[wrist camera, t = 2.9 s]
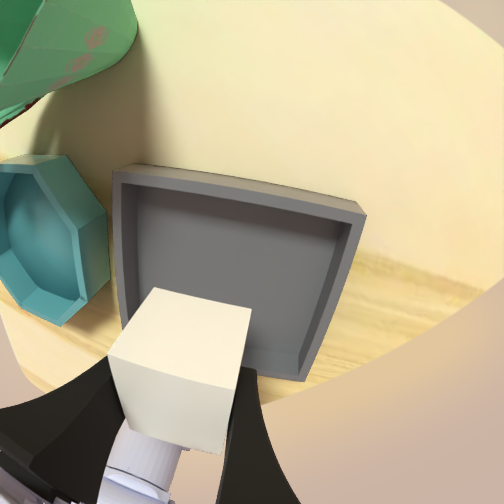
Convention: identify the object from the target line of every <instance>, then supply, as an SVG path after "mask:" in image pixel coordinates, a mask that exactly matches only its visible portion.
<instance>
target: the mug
mask: <svg viewBox="0 0 504 504" xmlns="http://www.w3.org/2000/svg"><path fill="white" fill-rule="evenodd" d="M137 23H138V22H137V19H136V15H135V12H134V9H133V6H132V3H131V0H0V129H1V128H2V127H3V126H5V125H6V124H8V123H9V122H11V121H12V120H13V119H15V118H17V117H18V116H20V115H21V114H23V113H24V112H26V111H27V110H29V109H30V108H31V107H32V106H33V105H34V104H35V103H37V102H38V101H39V100H40V99H41V98H43V97H44V96H45V95H46V94H48V93H50V92H52V91H55V90H57V89H59V88H62V87H64V86H67V85H69V84H72V83H74V82H77V81H80V80H82V79H85V78H88V77H90V76H92V75H95V74H97V73H99V72H101V71H103V70H106V69H108V68H110V67H111V66H113V65H114V64H116V63H117V62H119V61H120V60H121V59H122V58H123V57H124V56H125V55H126V54H127V52H128V51H129V49H130V48H131V46H132V44H133V43H134V40H135V37H136V34H137Z"/></svg>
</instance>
